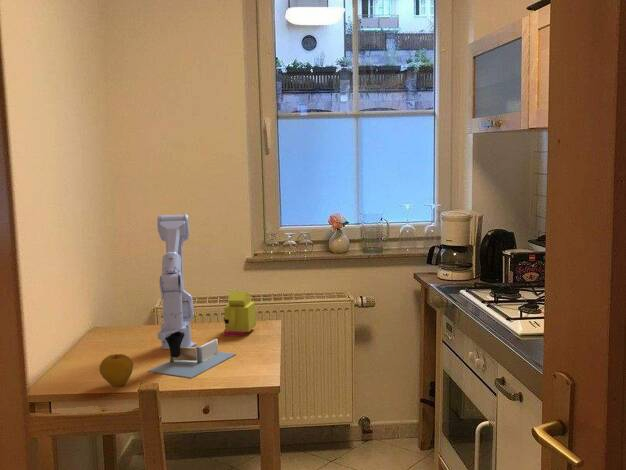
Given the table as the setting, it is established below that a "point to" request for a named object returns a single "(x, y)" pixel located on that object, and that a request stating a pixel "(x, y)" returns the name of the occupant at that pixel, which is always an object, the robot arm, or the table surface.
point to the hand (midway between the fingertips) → (175, 356)
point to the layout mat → (191, 365)
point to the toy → (239, 314)
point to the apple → (116, 369)
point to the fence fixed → (207, 350)
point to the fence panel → (185, 354)
